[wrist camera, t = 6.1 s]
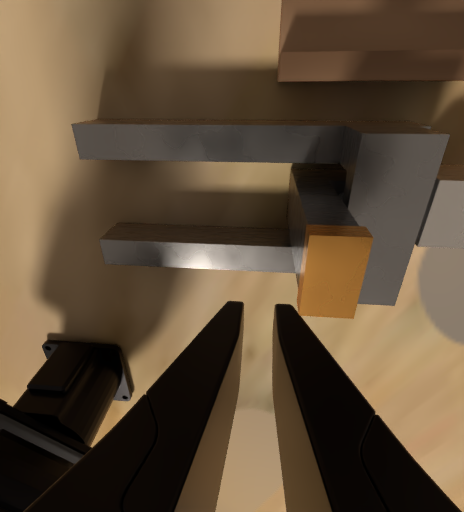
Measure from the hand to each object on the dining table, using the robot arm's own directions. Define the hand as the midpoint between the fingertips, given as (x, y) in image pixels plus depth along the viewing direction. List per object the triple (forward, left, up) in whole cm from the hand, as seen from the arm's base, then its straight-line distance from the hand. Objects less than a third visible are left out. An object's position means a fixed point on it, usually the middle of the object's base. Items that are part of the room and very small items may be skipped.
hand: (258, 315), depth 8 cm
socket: (0, +1, -11) cm, 11 cm away
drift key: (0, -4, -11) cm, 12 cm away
